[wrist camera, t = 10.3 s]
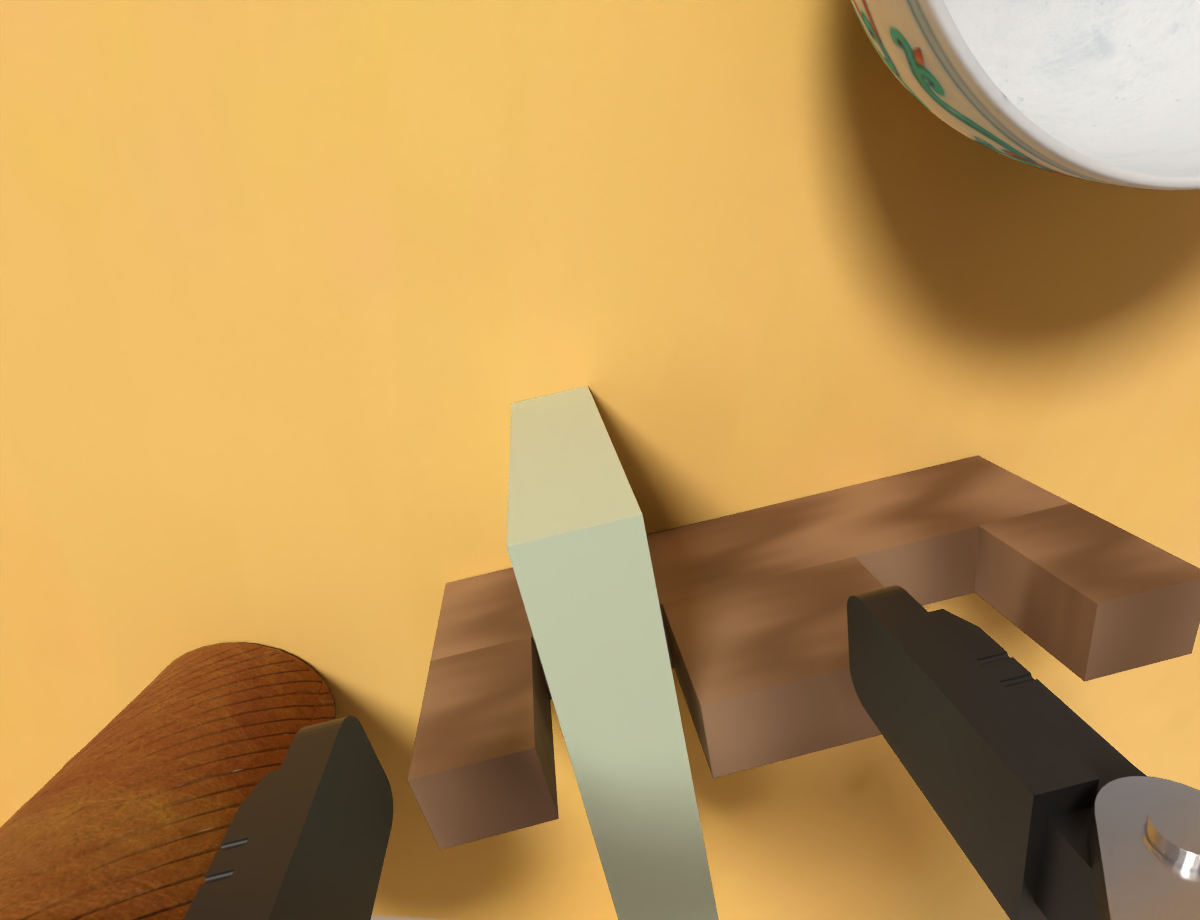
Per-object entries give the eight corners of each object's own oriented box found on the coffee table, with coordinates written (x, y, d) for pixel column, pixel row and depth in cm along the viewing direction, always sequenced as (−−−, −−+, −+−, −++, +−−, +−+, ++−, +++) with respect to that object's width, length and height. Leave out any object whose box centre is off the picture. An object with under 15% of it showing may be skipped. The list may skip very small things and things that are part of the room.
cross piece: (511, 403, 19) (506, 546, 11) (587, 385, 19) (642, 514, 11) (596, 721, 24) (636, 980, 16) (654, 706, 24) (725, 956, 16)
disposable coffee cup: (431, 684, 23) (349, 1130, 11) (292, 833, 24) (108, 1336, 13) (188, 553, 19) (-252, 998, 8) (50, 736, 21) (-457, 1296, 10)
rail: (977, 455, 22) (1212, 574, 14) (973, 513, 23) (1191, 653, 15) (445, 583, 21) (407, 780, 14) (465, 638, 22) (439, 849, 15)
